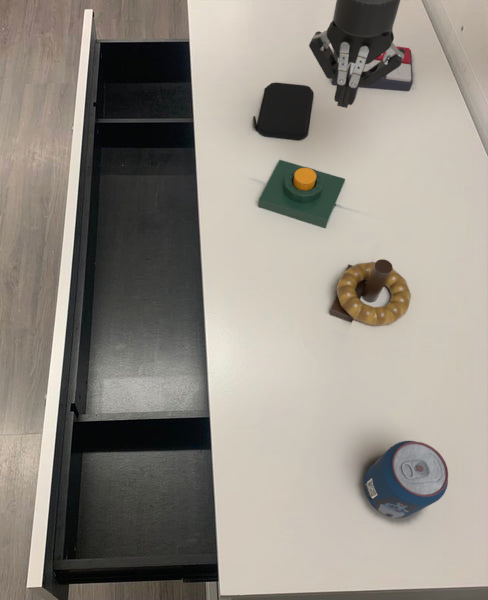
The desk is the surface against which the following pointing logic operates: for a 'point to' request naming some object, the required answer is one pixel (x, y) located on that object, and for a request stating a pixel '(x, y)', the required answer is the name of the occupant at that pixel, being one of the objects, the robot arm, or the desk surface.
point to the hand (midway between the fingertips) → (343, 103)
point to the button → (304, 179)
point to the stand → (366, 288)
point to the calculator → (390, 74)
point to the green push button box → (301, 195)
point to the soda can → (406, 479)
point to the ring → (366, 312)
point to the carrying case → (285, 111)
